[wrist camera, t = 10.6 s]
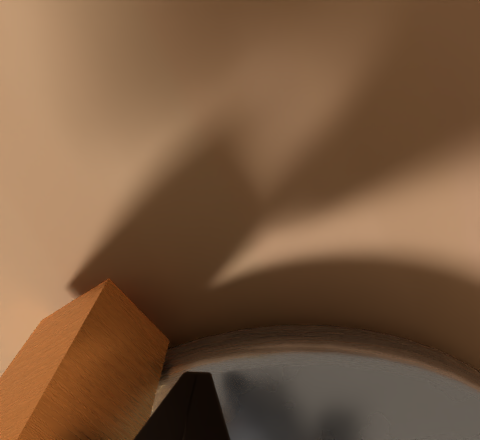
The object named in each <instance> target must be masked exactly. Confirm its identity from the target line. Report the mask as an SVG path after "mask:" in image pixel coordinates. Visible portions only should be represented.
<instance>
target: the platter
mask: <svg viewBox="0 0 480 440" xmlns="http://www.w3.org/2000/svg"><path fill="white" fill-rule="evenodd" d="M168 345H169V340H168V338H167V337H166V336H165V335H164V334H163V333H162V332H161V331H160V330H159V329H158V328H157V327H156V326H155V325H154V324H153V323H152V322H151V321H150V320H149V319H148V318H147V317H146V316H145V315H144V314H143V313H142V312H141V311H140V310H139V309H138V308H137V307H136V306H135V305H134V303H133V302H132V301H131V300H130V299H129V298H128V297H127V296H126V295H125V294H124V293H123V292H122V291H121V290H120V289H119V288H118V287H117V286H116V285H115V284H114V283H113V282H112V281H111V280H110V279H109V278H108V279H107V280H105V281H103V282H102V283H100V284H99V285H97V286H96V287H94V288H92V289H91V290H89V291H88V292H86V293H84V294H83V295H81V296H80V297H78V298H76V299H75V300H73V301H72V302H70V303H68V304H67V305H65V306H64V307H62V308H61V309H59V310H57V311H56V312H54V313H53V314H51V315H49V316H48V317H46V318H45V319H43V320H42V321H41V322H40V323H39V325H38V326H37V327H36V329H35V330H34V332H33V333H32V334H31V336H30V337H29V339H28V340H27V341H26V343H25V344H24V346H23V347H22V348H21V350H20V351H19V353H18V354H17V355H16V357H15V358H14V359H13V361H12V362H11V364H10V365H9V366H8V368H7V369H6V371H5V372H4V373H3V375H2V376H1V378H0V440H133V439H134V438H135V437H136V435H137V434H138V433H139V431H140V430H141V429H142V427H143V426H144V425H145V423H146V422H147V421H148V419H149V418H150V417H151V415H152V414H153V413H154V411H155V410H156V409H157V407H158V406H159V405H160V403H161V402H162V401H163V399H164V398H165V397H166V395H167V394H168V393H169V391H170V390H171V389H172V387H173V386H174V385H175V383H176V382H177V381H178V379H179V378H180V377H181V375H182V374H183V373H184V372H186V371H191V372H210V373H211V374H212V377H213V381H214V384H215V387H216V391H217V394H218V398H219V401H220V405H221V408H222V412H223V415H224V418H225V422H226V425H227V429H228V432H229V436H230V439H231V440H480V372H479V371H477V370H476V369H474V368H473V367H471V366H470V365H468V364H466V363H464V362H462V361H460V360H458V359H456V358H454V357H452V356H450V355H448V354H446V353H444V352H442V351H440V350H437V349H434V348H431V347H428V346H425V345H422V344H420V343H417V342H414V341H411V340H408V339H405V338H401V337H396V336H392V335H387V334H383V333H378V332H374V331H369V330H363V329H354V328H345V327H335V326H326V325H281V326H271V327H261V328H251V329H242V330H237V331H232V332H227V333H222V334H218V335H213V336H208V337H203V338H200V339H197V340H194V341H191V342H188V343H185V344H182V345H179V346H176V347H172V348H169V349H168Z"/></svg>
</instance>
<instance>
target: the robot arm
mask: <svg viewBox="0 0 480 440" xmlns="http://www.w3.org/2000/svg"><path fill="white" fill-rule="evenodd" d="M133 440H231V439H230V436H229V432H228V429H227V425H226V422H225V418H224V415H223V412H222V408H221V405H220V401H219V398H218V394H217V391H216V387H215V384H214V381H213V377H212V374H211V373H210V372H191V371H186V372H184V373H183V374H182V375H181V377H180V378H179V379H178V381H177V382H176V383H175V385H174V386H173V387H172V389H171V390H170V391H169V393H168V394H167V395H166V397H165V398H164V399H163V401H162V402H161V403H160V405H159V406H158V407H157V409H156V410H155V411H154V413H153V414H152V415H151V417H150V418H149V419H148V421H147V422H146V423H145V425H144V426H143V427H142V429H141V430H140V431H139V433H138V434H137V435H136V437H135V438H134V439H133Z"/></svg>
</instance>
